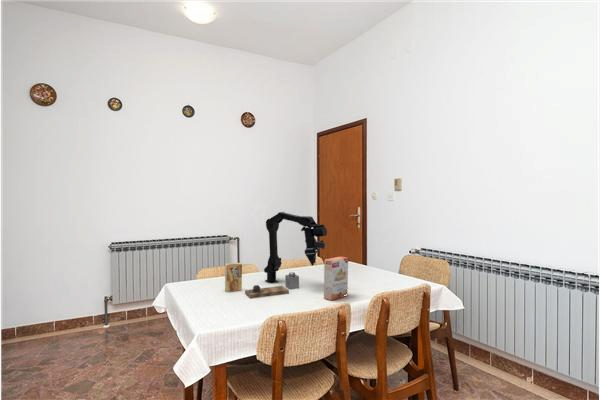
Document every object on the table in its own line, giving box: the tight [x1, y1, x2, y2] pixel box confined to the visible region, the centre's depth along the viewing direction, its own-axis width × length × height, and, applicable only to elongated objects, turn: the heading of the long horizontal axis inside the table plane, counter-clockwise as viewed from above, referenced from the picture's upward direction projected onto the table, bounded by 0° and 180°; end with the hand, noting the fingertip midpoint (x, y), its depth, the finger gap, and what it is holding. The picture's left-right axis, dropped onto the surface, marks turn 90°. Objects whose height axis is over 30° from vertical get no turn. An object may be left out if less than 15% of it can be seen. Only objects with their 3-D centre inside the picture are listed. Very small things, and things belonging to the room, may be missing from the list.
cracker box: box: [323, 256, 349, 301], centre depth 190 cm, size 14×6×21 cm, turn 137°
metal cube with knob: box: [284, 271, 300, 290], centre depth 210 cm, size 6×6×8 cm
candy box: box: [224, 262, 243, 293], centre depth 203 cm, size 9×4×15 cm, turn 116°
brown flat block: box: [244, 284, 290, 299], centre depth 197 cm, size 22×10×5 cm, turn 116°
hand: (313, 264), depth 208 cm, fingers open, 9 cm apart
